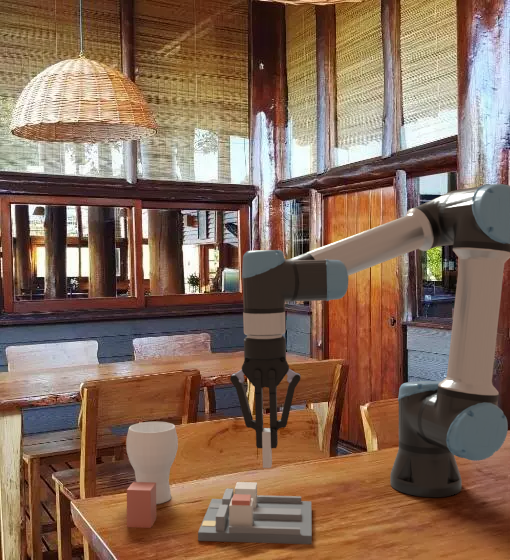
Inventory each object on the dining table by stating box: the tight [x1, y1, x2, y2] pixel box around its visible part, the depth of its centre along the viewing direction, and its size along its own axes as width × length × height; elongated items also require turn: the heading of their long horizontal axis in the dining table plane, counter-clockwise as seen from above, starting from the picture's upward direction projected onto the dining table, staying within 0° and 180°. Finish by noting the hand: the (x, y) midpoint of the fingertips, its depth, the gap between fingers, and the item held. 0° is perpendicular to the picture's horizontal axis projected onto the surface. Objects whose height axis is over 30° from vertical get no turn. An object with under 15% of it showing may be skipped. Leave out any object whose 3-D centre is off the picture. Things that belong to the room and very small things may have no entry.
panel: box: [197, 488, 313, 545], centre depth 127 cm, size 20×17×4 cm
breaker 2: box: [229, 493, 253, 526], centre depth 123 cm, size 4×4×5 cm
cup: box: [125, 421, 179, 505], centre depth 141 cm, size 11×11×15 cm
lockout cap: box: [126, 481, 157, 529], centre depth 128 cm, size 4×4×7 cm
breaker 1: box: [234, 481, 258, 508], centre depth 132 cm, size 4×4×4 cm
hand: (267, 465), depth 123 cm, fingers closed
